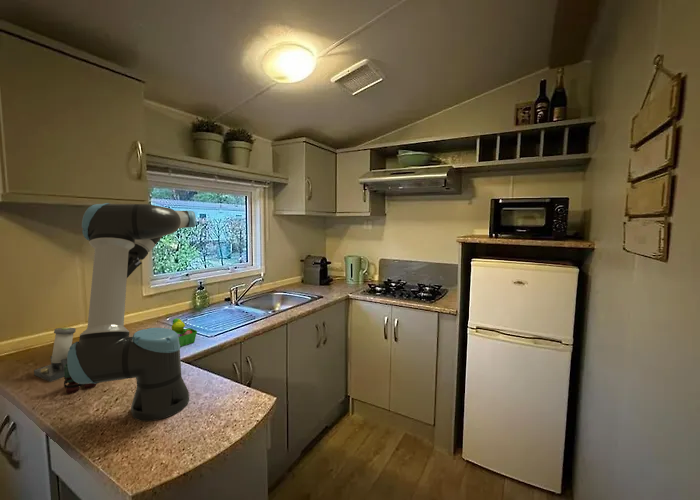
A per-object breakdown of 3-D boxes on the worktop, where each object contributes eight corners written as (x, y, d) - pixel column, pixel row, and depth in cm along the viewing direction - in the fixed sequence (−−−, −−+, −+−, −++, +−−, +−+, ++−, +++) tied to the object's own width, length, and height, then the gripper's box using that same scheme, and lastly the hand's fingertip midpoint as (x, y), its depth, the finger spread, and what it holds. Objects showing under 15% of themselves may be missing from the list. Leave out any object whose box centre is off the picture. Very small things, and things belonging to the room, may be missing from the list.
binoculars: (62, 370, 102) (61, 356, 109) (65, 400, 104) (64, 385, 111) (98, 361, 108) (95, 349, 115) (100, 390, 110) (97, 376, 117)
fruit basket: (172, 350, 140) (171, 324, 138) (163, 345, 145) (161, 320, 144) (198, 342, 149) (197, 318, 147) (188, 337, 154) (187, 314, 153)
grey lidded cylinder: (54, 364, 116) (59, 330, 117) (45, 361, 119) (51, 328, 120) (74, 361, 122) (79, 328, 123) (65, 358, 124) (70, 326, 125)
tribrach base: (49, 382, 113) (48, 366, 113) (34, 375, 118) (32, 360, 117) (86, 368, 123) (85, 354, 123) (70, 362, 128) (69, 349, 127)
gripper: (158, 254, 145) (121, 300, 132) (136, 252, 151) (99, 296, 138) (145, 243, 139) (106, 289, 126) (123, 242, 146) (83, 286, 133)
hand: (102, 293), depth 132 cm, fingers open, 2 cm apart
